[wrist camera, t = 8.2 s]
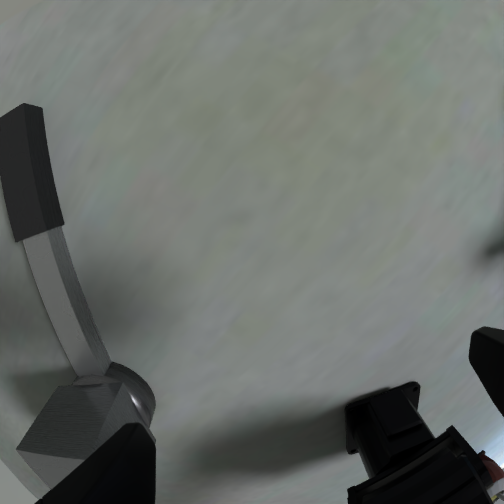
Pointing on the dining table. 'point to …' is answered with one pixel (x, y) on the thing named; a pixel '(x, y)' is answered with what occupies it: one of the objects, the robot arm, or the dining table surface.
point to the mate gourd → (494, 477)
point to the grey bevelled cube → (76, 427)
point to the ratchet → (55, 253)
